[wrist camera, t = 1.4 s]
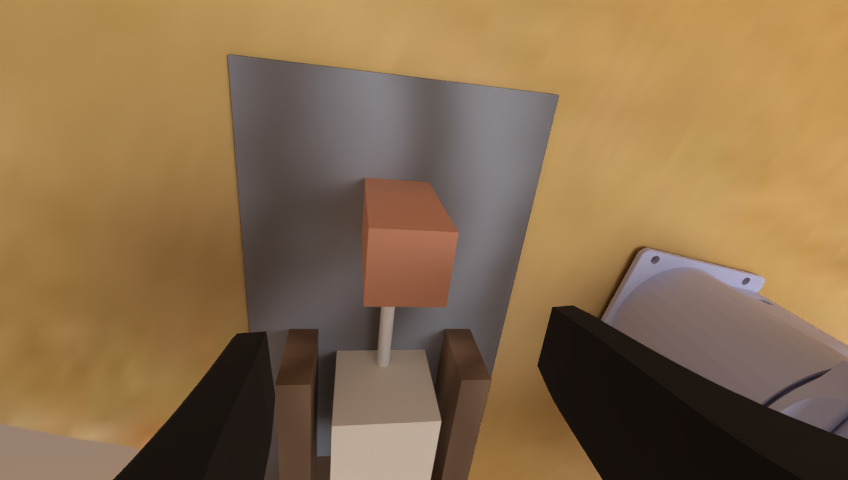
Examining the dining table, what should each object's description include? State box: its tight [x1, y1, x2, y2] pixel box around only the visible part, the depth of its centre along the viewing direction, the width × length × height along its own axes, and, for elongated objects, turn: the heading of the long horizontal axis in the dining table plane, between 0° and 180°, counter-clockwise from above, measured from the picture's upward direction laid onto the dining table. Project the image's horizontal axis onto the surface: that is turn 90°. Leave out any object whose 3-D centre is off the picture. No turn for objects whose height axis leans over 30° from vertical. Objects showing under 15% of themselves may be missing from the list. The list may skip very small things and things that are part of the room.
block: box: [330, 178, 459, 480], centre depth 19 cm, size 5×15×6 cm, turn 173°
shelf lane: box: [228, 54, 559, 480], centre depth 19 cm, size 14×25×6 cm, turn 173°
